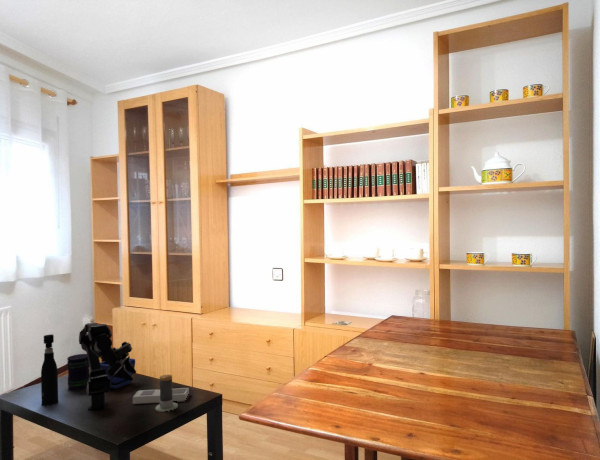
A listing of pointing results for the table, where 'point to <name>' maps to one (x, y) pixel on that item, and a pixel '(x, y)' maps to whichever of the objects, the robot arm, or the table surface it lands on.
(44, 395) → the wine bottle
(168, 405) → the plug
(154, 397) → the power strip
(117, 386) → the flower pot
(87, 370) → the storage jar
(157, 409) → the rubber mat
